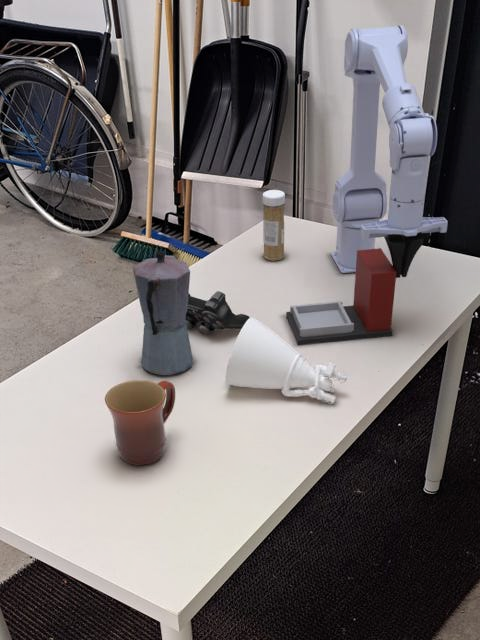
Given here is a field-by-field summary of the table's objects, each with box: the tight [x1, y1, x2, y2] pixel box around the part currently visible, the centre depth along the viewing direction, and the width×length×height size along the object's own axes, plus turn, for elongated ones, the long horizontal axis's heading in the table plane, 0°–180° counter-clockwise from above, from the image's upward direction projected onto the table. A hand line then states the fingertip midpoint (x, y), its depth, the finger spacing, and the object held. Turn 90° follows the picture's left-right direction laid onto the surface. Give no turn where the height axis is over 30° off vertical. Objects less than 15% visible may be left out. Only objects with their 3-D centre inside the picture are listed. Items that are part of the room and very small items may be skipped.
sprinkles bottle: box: [262, 189, 286, 262], centre depth 176 cm, size 5×5×13 cm
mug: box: [104, 379, 176, 466], centre depth 127 cm, size 12×9×10 cm
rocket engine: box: [225, 316, 349, 405], centre depth 139 cm, size 12×12×18 cm
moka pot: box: [132, 250, 194, 376], centre depth 142 cm, size 10×15×20 cm, turn 174°
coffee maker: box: [285, 248, 397, 346], centre depth 154 cm, size 11×17×12 cm, turn 99°
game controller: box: [185, 290, 251, 335], centre depth 156 cm, size 16×7×10 cm, turn 55°
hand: (399, 275), depth 150 cm, fingers closed
